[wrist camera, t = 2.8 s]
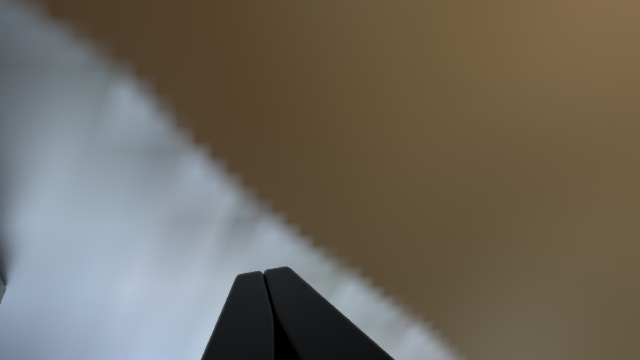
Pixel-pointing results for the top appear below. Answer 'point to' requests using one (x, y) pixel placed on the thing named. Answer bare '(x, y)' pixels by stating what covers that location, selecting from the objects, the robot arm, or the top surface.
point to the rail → (2, 288)
